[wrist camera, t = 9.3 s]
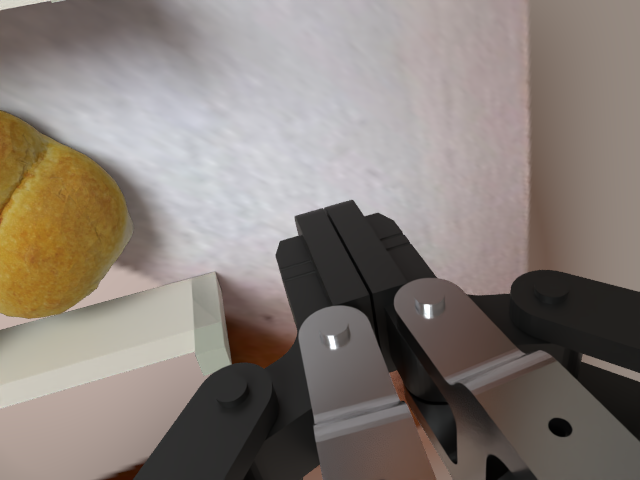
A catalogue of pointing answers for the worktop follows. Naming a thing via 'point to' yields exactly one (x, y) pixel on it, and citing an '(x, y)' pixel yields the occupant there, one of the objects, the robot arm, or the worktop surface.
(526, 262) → the worktop surface
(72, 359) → the holder
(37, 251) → the bread roll
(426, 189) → the worktop surface
